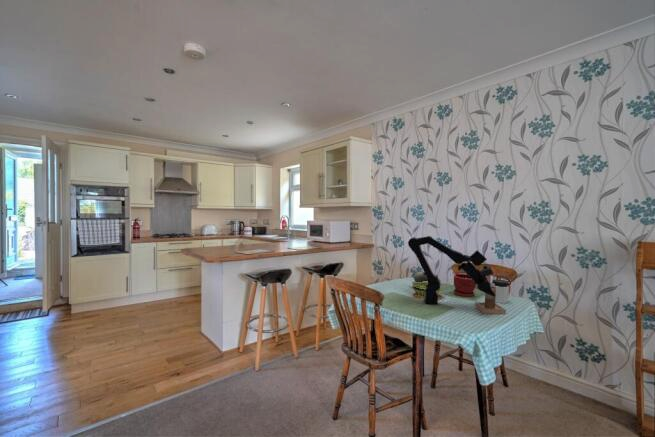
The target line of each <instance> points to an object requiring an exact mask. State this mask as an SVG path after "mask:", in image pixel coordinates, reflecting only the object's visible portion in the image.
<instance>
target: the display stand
mask: <svg viewBox="0 0 655 437" xmlns="http://www.w3.org/2000/svg"><path fill="white" fill-rule="evenodd" d="M474 303H475V304H474V306H475V307H476V308H477V309H478V310H479V311H480V312H482V313H483V314H493V315H506V314H507V309H506V308H504V307H502V306H501V305H500V304H498V302H495V309H489V308H486V307H485V302H481V301H480V302H479V301H478V302H477V301H475V302H474Z"/></svg>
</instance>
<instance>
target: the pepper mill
mask: <svg viewBox="0 0 655 437" xmlns="http://www.w3.org/2000/svg"><path fill="white" fill-rule="evenodd" d="M490 288H491V289H492V291H493V292H494V294H495V295H496V287H495V284H494V283H492V282H490ZM495 299H496V296H495V297H493V296H491V295H489V294H487V293H485V292H484V303H485V307H486V308H489V309H495V303H496V302H495Z"/></svg>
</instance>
